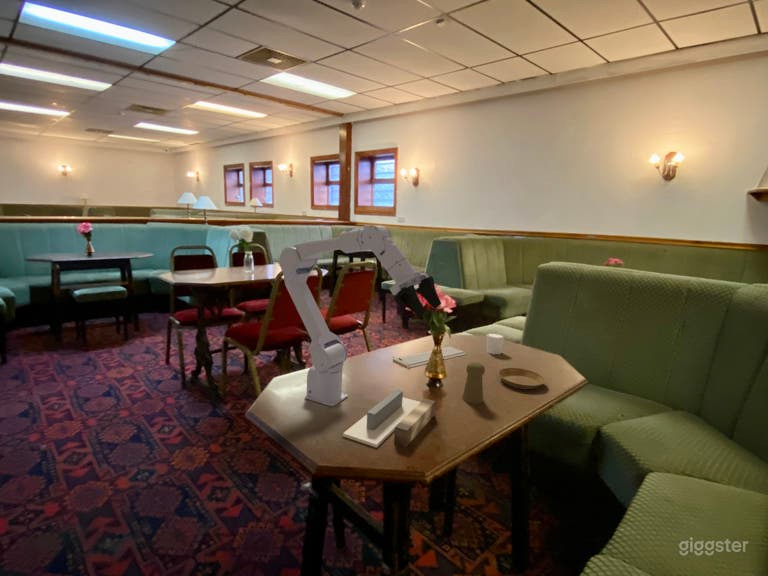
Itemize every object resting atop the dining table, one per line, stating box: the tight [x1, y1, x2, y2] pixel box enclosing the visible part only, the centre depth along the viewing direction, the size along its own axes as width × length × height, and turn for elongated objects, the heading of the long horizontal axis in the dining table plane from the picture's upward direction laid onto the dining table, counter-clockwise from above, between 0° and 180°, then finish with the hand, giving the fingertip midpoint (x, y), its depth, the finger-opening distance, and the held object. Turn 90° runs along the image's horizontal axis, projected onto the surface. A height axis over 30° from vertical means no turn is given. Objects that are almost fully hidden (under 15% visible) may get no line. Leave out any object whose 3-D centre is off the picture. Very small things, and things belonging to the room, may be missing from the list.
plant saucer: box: [497, 367, 546, 390], centre depth 137 cm, size 15×15×3 cm
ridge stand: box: [342, 389, 421, 449], centre depth 107 cm, size 9×26×5 cm, turn 153°
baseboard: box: [392, 346, 467, 369], centre depth 156 cm, size 30×3×10 cm
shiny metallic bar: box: [393, 398, 436, 448], centre depth 104 cm, size 18×3×4 cm, turn 153°
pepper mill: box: [461, 361, 486, 405], centre depth 122 cm, size 6×6×11 cm
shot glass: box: [486, 332, 505, 355], centre depth 167 cm, size 7×7×7 cm
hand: (430, 310), depth 100 cm, fingers open, 7 cm apart
